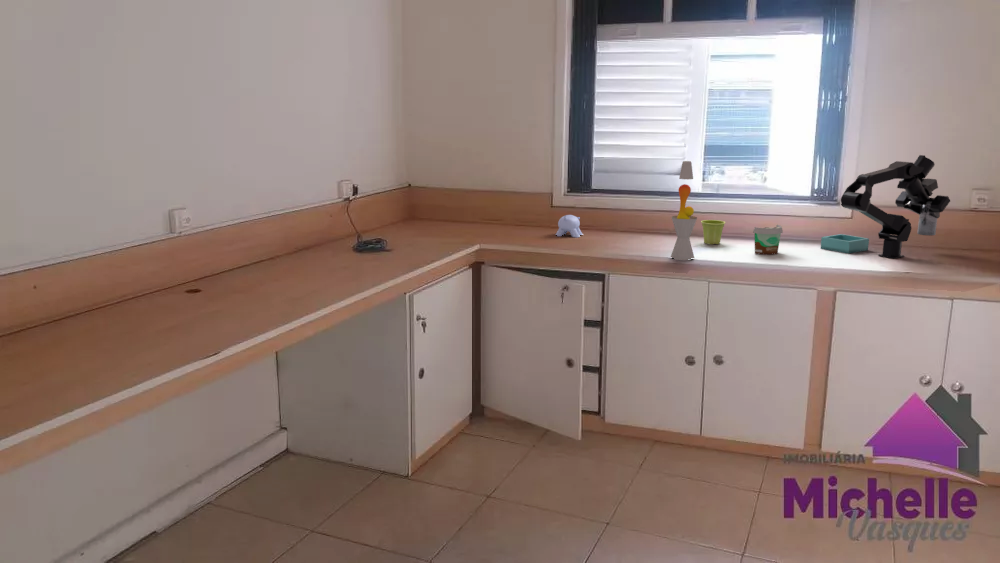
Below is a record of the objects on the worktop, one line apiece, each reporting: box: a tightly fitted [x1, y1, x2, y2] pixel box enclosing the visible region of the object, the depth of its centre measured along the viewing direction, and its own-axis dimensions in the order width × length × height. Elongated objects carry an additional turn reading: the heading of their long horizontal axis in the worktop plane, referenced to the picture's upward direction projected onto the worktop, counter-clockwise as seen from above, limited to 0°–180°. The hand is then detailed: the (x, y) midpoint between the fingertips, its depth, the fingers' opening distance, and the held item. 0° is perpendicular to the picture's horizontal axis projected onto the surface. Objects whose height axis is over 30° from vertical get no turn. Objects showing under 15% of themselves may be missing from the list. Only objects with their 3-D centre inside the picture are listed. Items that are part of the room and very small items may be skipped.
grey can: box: [917, 204, 938, 236], centre depth 299 cm, size 6×6×12 cm
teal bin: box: [820, 233, 870, 255], centre depth 308 cm, size 12×12×4 cm
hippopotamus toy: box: [555, 214, 584, 238], centre depth 342 cm, size 11×15×10 cm
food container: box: [752, 224, 784, 256], centre depth 300 cm, size 12×6×10 cm, turn 117°
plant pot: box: [700, 219, 726, 245], centre depth 321 cm, size 9×9×9 cm
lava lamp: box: [670, 160, 698, 261], centre depth 290 cm, size 9×9×35 cm
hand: (930, 216), depth 300 cm, fingers closed on grey can, 6 cm apart
